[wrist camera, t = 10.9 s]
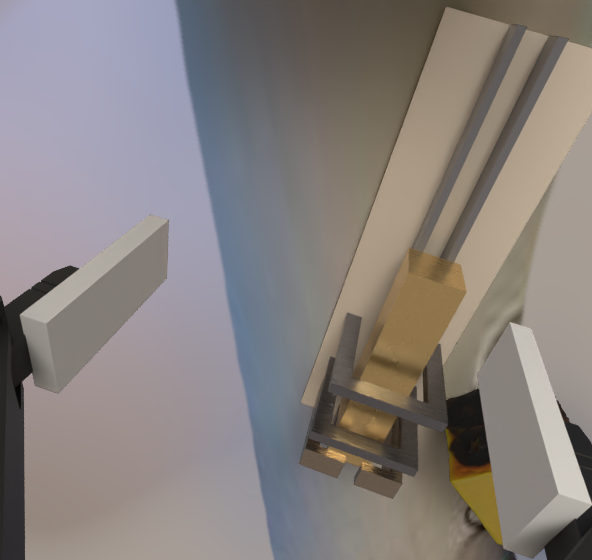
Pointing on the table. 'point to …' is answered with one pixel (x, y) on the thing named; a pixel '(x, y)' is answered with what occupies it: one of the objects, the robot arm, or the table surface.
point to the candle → (473, 459)
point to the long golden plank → (403, 339)
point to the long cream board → (465, 166)
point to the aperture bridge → (367, 475)
